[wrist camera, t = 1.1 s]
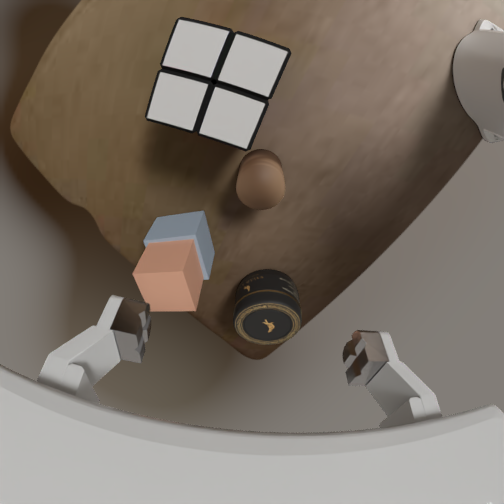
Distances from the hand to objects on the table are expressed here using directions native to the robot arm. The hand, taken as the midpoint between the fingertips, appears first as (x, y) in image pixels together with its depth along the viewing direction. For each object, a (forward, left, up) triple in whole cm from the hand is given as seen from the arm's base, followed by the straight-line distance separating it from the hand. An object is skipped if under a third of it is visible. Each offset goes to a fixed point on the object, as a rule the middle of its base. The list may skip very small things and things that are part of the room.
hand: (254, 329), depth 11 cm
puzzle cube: (+2, -8, -28) cm, 29 cm away
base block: (+12, +12, -28) cm, 33 cm away
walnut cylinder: (0, +4, -28) cm, 28 cm away
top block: (+12, +12, -22) cm, 28 cm away
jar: (+2, +24, -28) cm, 37 cm away
